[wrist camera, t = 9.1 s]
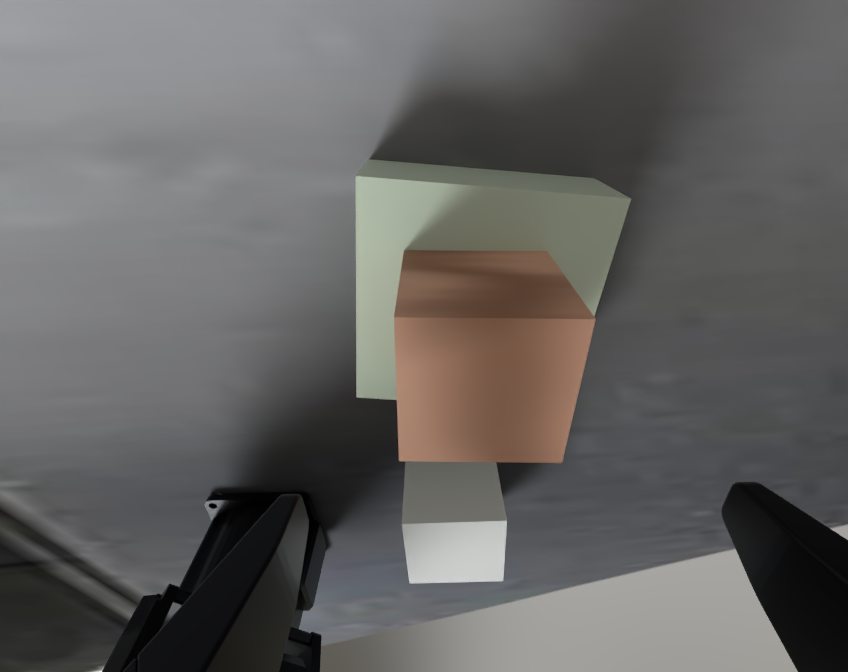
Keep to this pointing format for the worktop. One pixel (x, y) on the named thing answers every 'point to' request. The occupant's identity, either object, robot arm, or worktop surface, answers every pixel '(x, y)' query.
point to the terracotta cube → (487, 356)
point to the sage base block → (469, 237)
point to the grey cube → (453, 522)
